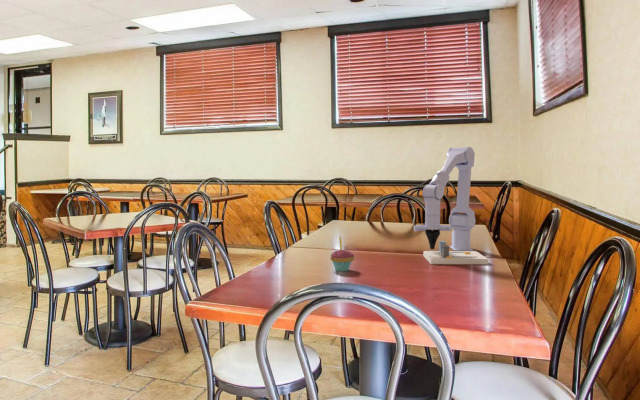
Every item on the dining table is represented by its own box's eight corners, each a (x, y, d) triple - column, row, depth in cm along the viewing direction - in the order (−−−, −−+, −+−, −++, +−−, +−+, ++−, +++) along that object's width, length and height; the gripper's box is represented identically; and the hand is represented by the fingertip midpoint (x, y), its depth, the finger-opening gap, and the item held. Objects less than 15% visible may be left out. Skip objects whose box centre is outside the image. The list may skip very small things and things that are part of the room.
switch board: (423, 255, 186) (423, 249, 186) (475, 256, 185) (476, 249, 185) (431, 264, 171) (431, 257, 171) (488, 264, 170) (488, 257, 170)
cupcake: (326, 268, 165) (326, 235, 164) (347, 266, 168) (347, 233, 167) (336, 273, 157) (336, 238, 156) (358, 271, 160) (358, 237, 159)
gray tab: (441, 255, 176) (441, 244, 175) (446, 255, 176) (447, 244, 175) (443, 256, 173) (443, 246, 172) (448, 256, 173) (449, 246, 172)
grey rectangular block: (439, 250, 185) (439, 240, 184) (444, 250, 185) (444, 240, 184) (440, 252, 182) (440, 242, 181) (445, 252, 182) (446, 242, 181)
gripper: (415, 216, 178) (415, 250, 179) (453, 216, 178) (453, 250, 179) (412, 213, 185) (412, 247, 186) (449, 213, 185) (448, 247, 186)
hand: (432, 248), depth 183 cm, fingers closed
